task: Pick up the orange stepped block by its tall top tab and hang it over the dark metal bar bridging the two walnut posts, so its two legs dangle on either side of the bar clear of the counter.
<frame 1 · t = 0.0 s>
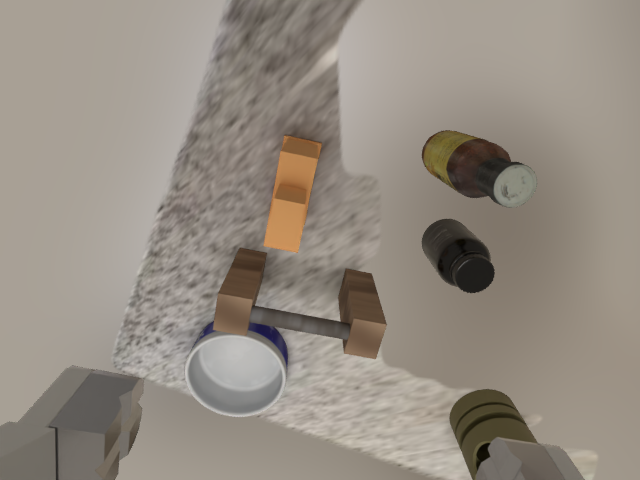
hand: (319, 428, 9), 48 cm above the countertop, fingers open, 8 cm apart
sauce bottle: (444, 152, 55), on the countertop
piston: (481, 414, 71), on the countertop
supplement bottle: (443, 239, 59), on the countertop
dog bowl: (242, 352, 66), on the countertop
crossbar stand: (303, 275, 61), on the countertop
orange stepped block: (295, 180, 56), on the countertop
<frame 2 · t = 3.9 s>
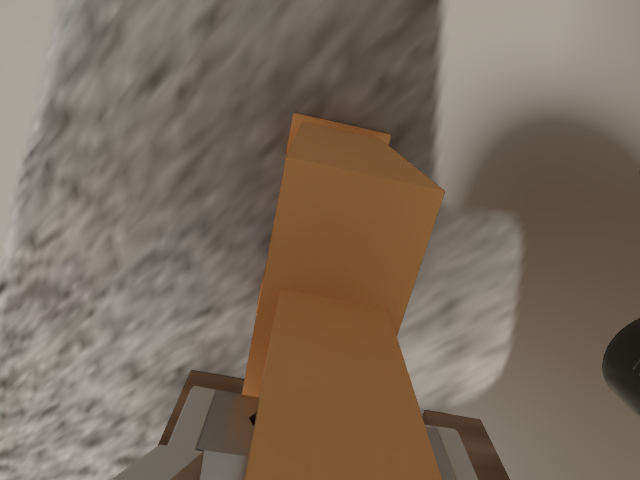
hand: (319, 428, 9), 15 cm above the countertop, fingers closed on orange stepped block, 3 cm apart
crossbar stand: (331, 423, 28), on the countertop
orange stepped block: (318, 225, 23), on the countertop, touching gripper
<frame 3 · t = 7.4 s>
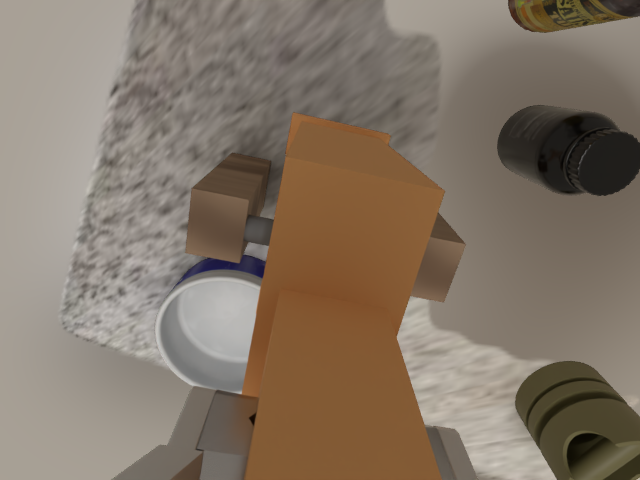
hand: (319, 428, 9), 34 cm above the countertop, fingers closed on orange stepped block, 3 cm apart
piston: (558, 395, 53), on the countertop
supplement bottle: (528, 140, 41), on the countertop
dog bowl: (237, 309, 48), on the countertop
crossbar stand: (323, 196, 43), on the countertop
orange stepped block: (317, 225, 23), point 20 cm above the countertop, touching gripper
when the fingers open (21 cm above the countertop, at t = 10.9 s): orange stepped block drops 2 cm, resting on crossbar stand.
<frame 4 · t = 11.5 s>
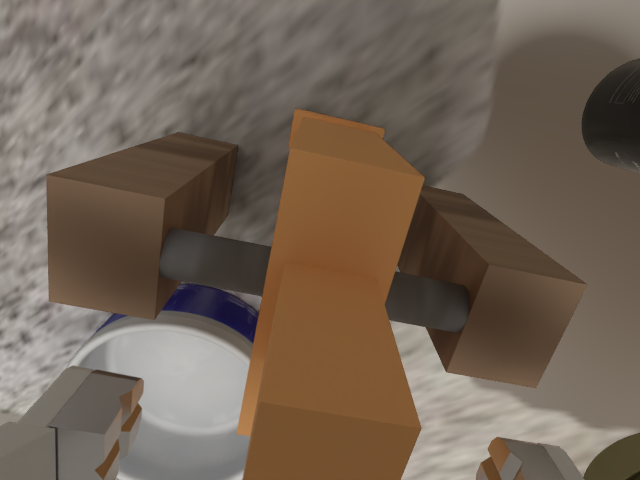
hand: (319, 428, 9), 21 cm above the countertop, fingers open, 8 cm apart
supplement bottle: (627, 113, 27), on the countertop
dog bowl: (195, 361, 34), on the countertop
crossbar stand: (317, 198, 29), on the countertop
orange stepped block: (317, 213, 25), point 4 cm above the countertop, touching crossbar stand
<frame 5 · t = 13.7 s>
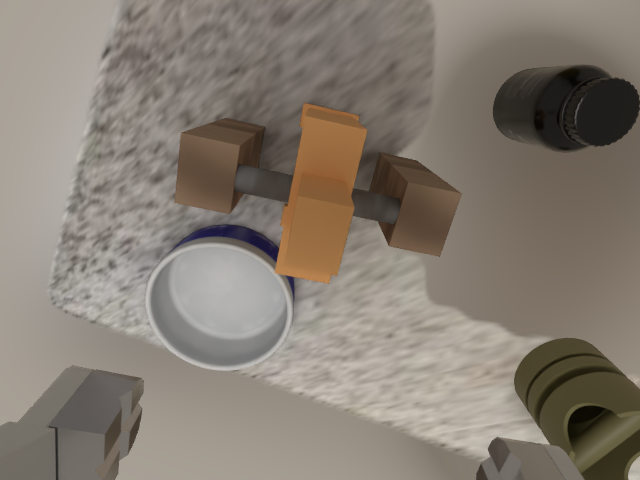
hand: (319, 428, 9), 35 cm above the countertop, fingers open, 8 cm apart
piston: (557, 374, 52), on the countertop
supplement bottle: (524, 105, 40), on the countertop
dog bowl: (230, 284, 47), on the countertop
crossbar stand: (317, 163, 42), on the countertop
orange stepped block: (317, 171, 38), point 4 cm above the countertop, touching crossbar stand
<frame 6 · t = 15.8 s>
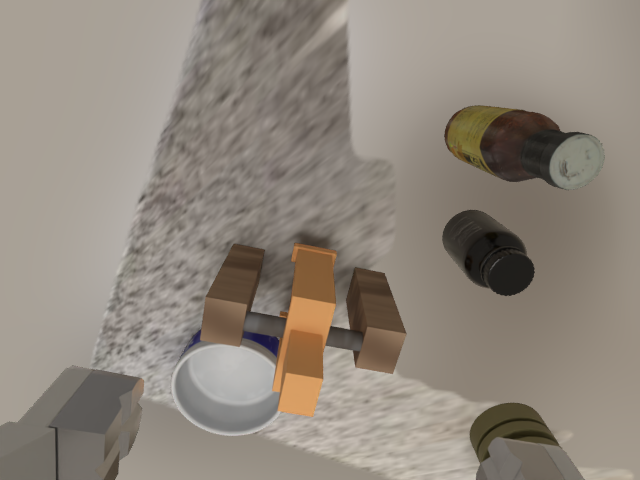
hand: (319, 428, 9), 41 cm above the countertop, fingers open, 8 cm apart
sauce bottle: (469, 132, 47), on the countertop
piston: (505, 430, 64), on the countertop
supplement bottle: (467, 233, 52), on the countertop
dog bowl: (237, 362, 59), on the countertop
crossbar stand: (306, 275, 53), on the countertop
orange stepped block: (305, 289, 50), point 4 cm above the countertop, touching crossbar stand
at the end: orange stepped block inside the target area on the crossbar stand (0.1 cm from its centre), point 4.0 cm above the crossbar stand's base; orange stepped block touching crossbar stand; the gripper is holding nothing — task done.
